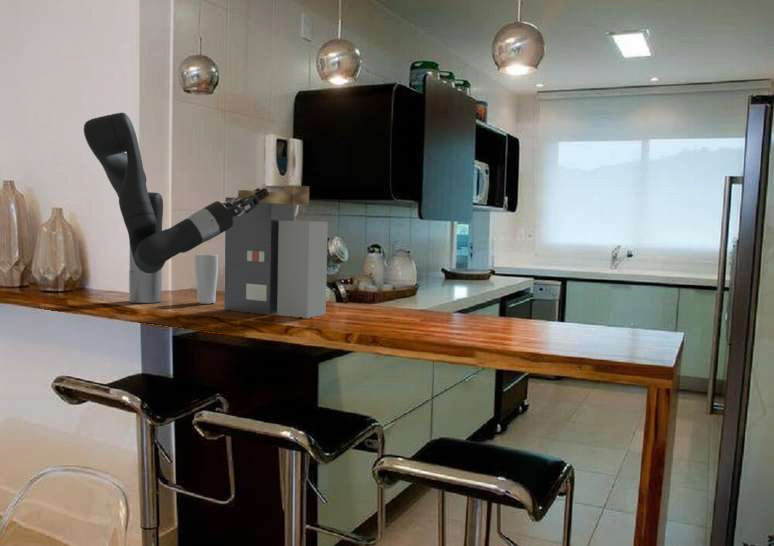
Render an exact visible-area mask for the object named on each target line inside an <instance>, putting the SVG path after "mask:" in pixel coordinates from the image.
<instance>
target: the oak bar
mask: <svg viewBox="0 0 774 546" xmlns="http://www.w3.org/2000/svg"><path fill="white" fill-rule="evenodd" d="M256 192H258V191H254V190H247V189H238V190H237V197H238V199H240V198H242V197H248V196H250V195H251V194H254V193H256ZM268 193H269V195H268V196H267V197H265V198H264V199H262V200H260V201H259V202H260V203H275V204H289V205H294V206H309V205H310V186H308V185H296V184H295V185H294V184H291V185H290V184H289V185H283V192H276V191H273V192H272V191H268ZM243 202H244V200H243Z"/></svg>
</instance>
